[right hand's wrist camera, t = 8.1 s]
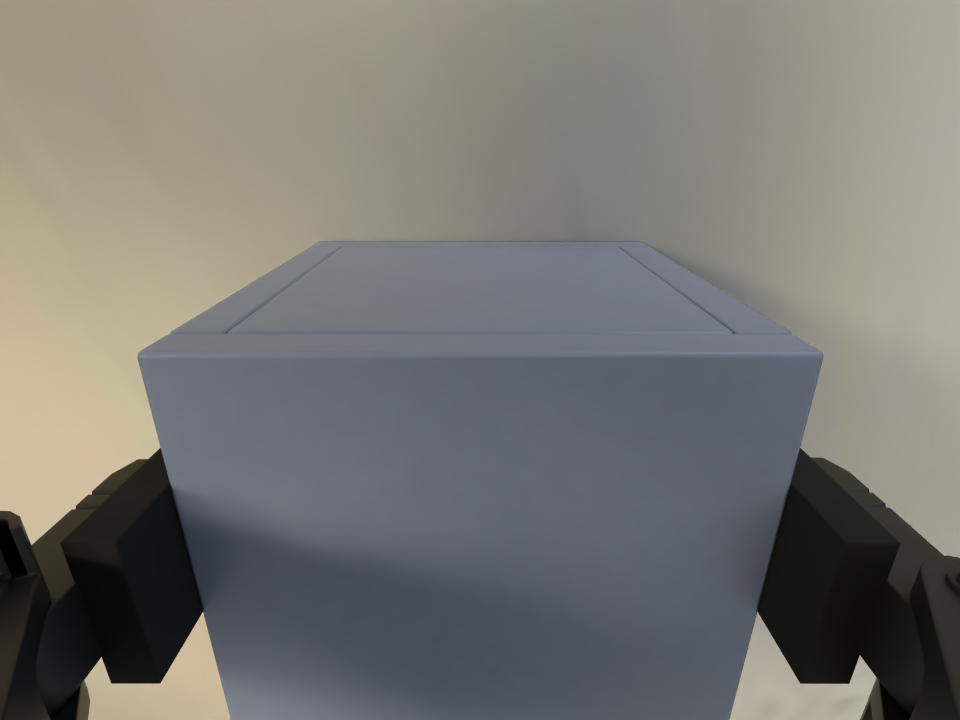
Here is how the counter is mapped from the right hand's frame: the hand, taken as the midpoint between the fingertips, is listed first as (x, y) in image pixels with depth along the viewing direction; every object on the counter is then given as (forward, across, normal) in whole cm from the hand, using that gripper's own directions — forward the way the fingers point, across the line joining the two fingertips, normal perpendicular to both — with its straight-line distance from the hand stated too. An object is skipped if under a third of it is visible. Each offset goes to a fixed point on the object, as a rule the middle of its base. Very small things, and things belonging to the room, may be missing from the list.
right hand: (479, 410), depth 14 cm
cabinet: (+4, 0, -5) cm, 7 cm away
